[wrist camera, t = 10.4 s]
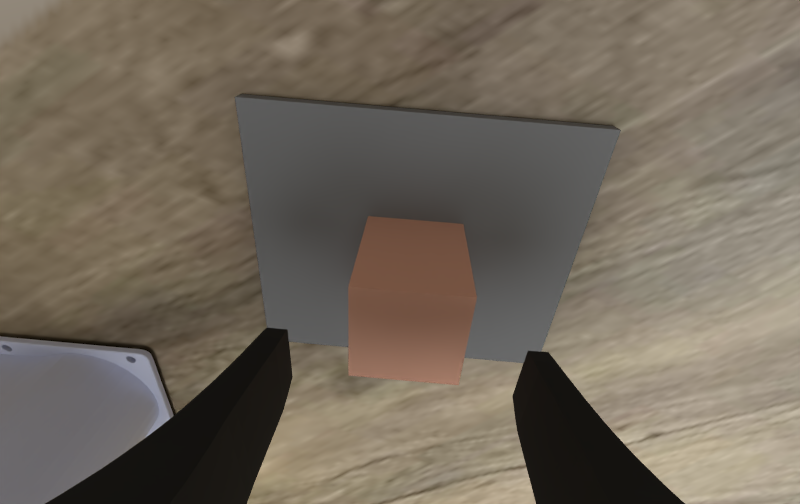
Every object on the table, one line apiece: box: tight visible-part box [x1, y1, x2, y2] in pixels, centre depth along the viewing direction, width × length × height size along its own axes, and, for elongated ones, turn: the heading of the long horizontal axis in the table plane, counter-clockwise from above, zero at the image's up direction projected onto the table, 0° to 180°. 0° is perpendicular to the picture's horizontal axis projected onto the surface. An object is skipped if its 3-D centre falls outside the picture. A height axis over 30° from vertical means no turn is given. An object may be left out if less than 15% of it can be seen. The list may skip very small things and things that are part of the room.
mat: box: [235, 94, 621, 363], centre depth 18 cm, size 14×12×1 cm
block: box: [348, 216, 477, 385], centre depth 15 cm, size 4×4×5 cm
